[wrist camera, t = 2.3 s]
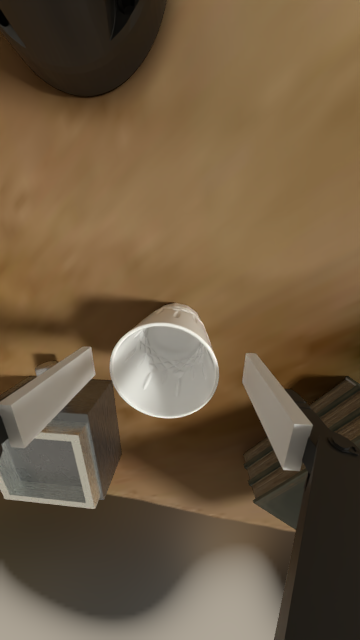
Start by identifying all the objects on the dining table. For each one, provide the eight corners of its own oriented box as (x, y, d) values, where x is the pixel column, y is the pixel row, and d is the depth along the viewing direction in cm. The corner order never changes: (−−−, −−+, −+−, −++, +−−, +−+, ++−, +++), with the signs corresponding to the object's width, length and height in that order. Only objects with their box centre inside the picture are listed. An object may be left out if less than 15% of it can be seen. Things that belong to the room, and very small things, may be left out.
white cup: (155, 360, 23) (129, 424, 13) (138, 306, 21) (92, 336, 11) (212, 349, 22) (227, 411, 12) (199, 291, 20) (206, 310, 10)
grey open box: (22, 352, 24) (-49, 387, 17) (108, 356, 23) (71, 394, 16) (50, 448, 30) (5, 504, 22) (121, 454, 29) (98, 515, 22)
